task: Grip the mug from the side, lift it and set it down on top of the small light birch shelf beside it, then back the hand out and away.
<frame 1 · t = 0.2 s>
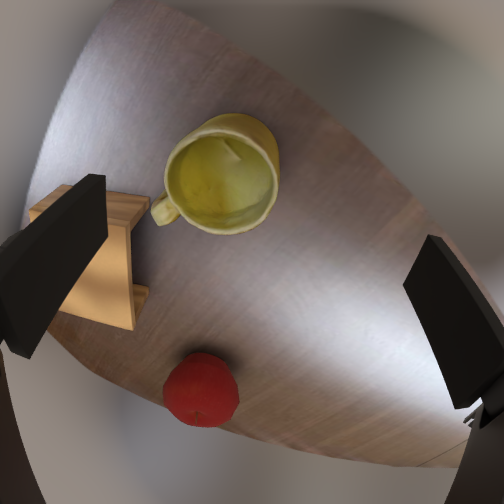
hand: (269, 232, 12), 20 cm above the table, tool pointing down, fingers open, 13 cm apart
shelf: (105, 241, 36), on the table
apple: (207, 359, 47), on the table
mug: (218, 162, 31), on the table
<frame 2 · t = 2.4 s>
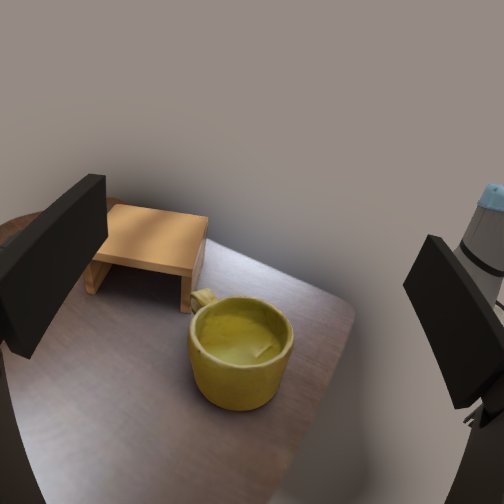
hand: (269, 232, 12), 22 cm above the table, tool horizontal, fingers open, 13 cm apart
shelf: (148, 274, 42), on the table
mug: (225, 367, 32), on the table
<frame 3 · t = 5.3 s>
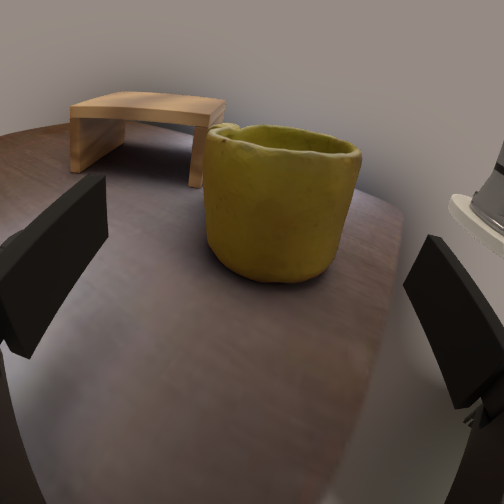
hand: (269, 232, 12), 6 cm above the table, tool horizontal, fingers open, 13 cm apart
shelf: (150, 160, 33), on the table
mug: (251, 238, 23), on the table
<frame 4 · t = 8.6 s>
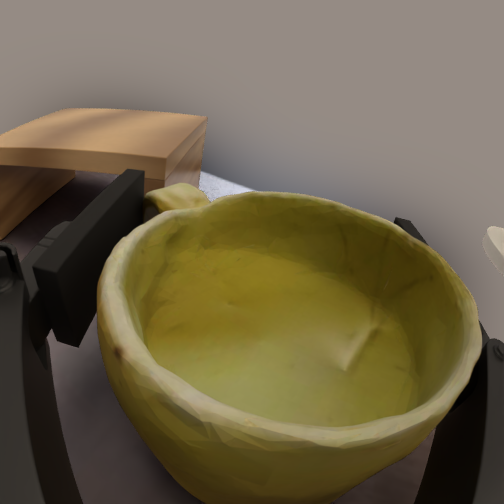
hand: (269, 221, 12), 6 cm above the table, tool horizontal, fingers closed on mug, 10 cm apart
shelf: (98, 211, 22), on the table
mug: (232, 394, 12), on the table, touching gripper
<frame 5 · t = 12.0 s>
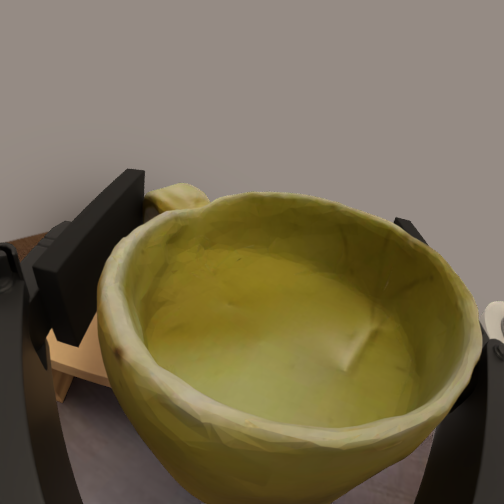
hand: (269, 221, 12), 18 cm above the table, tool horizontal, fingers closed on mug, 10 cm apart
shelf: (143, 366, 25), on the table
mug: (232, 394, 12), point 12 cm above the table, touching gripper
when the fingers open (13 cm above the table, at t = 15.8 s): mug stays where it is, resting on shelf.
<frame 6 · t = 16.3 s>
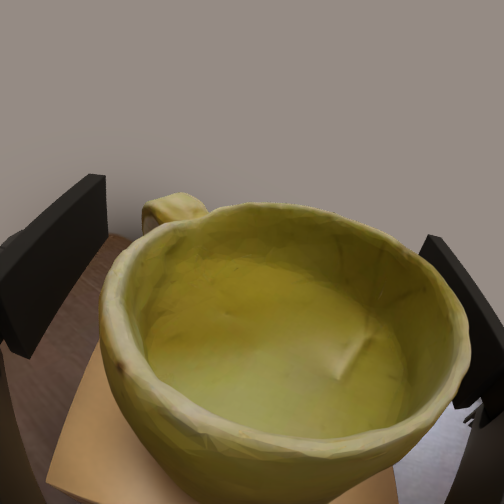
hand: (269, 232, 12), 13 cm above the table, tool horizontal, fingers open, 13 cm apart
shelf: (222, 449, 16), on the table
mug: (229, 399, 13), point 7 cm above the table, touching shelf
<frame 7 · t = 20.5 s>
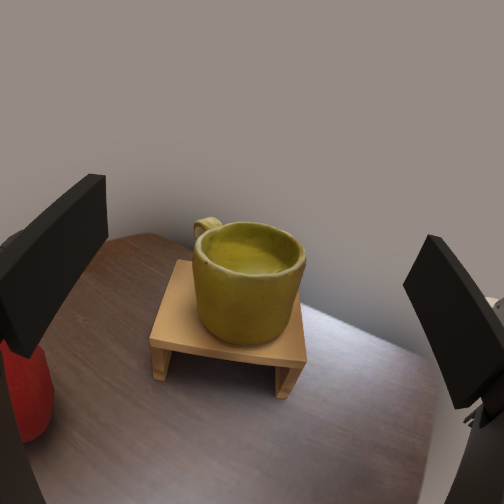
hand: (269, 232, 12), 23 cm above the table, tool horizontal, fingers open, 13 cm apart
shelf: (225, 348, 35), on the table
apple: (25, 417, 21), on the table
mug: (230, 305, 31), point 7 cm above the table, touching shelf
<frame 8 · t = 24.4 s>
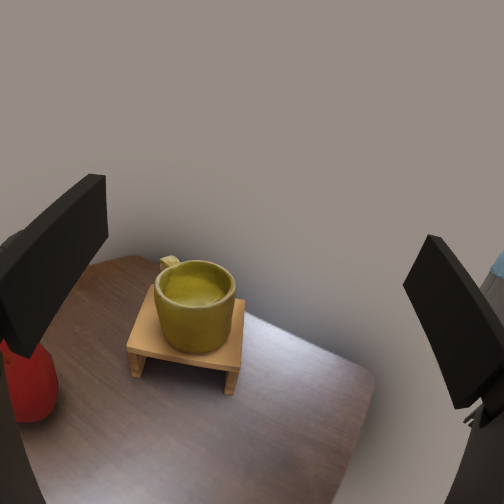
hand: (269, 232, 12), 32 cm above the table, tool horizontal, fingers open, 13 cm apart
shelf: (188, 353, 44), on the table
apple: (36, 404, 30), on the table
mug: (187, 322, 40), point 7 cm above the table, touching shelf
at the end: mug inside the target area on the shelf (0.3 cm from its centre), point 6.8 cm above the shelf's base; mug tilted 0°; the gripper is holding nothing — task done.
